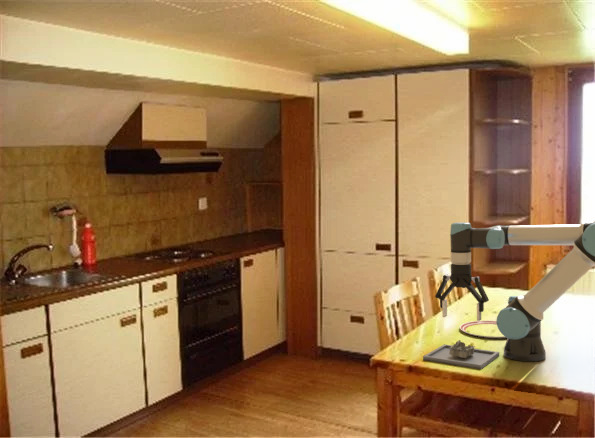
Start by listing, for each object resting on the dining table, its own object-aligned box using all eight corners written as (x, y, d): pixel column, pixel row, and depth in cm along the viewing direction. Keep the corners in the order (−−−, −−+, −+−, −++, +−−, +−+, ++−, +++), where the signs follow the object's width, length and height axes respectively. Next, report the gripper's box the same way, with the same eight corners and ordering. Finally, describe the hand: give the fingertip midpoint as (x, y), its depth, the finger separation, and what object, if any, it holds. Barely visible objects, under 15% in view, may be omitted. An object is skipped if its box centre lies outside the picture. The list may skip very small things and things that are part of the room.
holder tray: (499, 355, 240) (499, 352, 240) (480, 369, 224) (480, 365, 224) (444, 347, 253) (444, 344, 253) (423, 360, 237) (423, 356, 237)
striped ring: (529, 343, 258) (529, 335, 258) (461, 341, 264) (461, 333, 264) (519, 328, 285) (519, 321, 285) (458, 326, 291) (458, 319, 290)
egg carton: (459, 349, 245) (459, 339, 245) (477, 353, 240) (477, 343, 240) (446, 354, 237) (446, 344, 237) (464, 359, 233) (464, 348, 232)
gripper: (496, 263, 232) (497, 319, 233) (434, 260, 247) (434, 313, 248) (490, 266, 226) (490, 323, 227) (426, 262, 241) (427, 316, 242)
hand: (461, 318), depth 238 cm, fingers open, 13 cm apart
